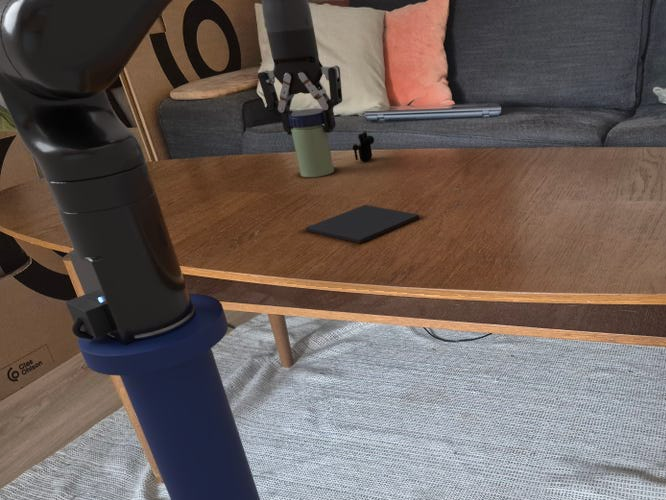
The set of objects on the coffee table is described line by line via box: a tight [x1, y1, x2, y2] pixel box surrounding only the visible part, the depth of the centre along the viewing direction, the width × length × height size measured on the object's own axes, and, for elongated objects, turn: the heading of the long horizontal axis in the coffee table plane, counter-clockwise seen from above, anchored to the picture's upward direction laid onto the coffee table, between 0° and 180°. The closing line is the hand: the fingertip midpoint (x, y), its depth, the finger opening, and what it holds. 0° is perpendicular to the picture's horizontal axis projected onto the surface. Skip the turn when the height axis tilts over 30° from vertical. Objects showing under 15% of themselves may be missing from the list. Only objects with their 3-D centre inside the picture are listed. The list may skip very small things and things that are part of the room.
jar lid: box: [288, 108, 324, 128], centre depth 116 cm, size 7×7×2 cm
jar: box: [291, 124, 335, 178], centre depth 118 cm, size 6×6×10 cm
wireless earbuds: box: [352, 131, 375, 163], centre depth 124 cm, size 7×2×5 cm, turn 159°
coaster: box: [305, 204, 420, 244], centre depth 92 cm, size 11×11×1 cm
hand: (310, 132), depth 117 cm, fingers closed on jar lid, 6 cm apart
